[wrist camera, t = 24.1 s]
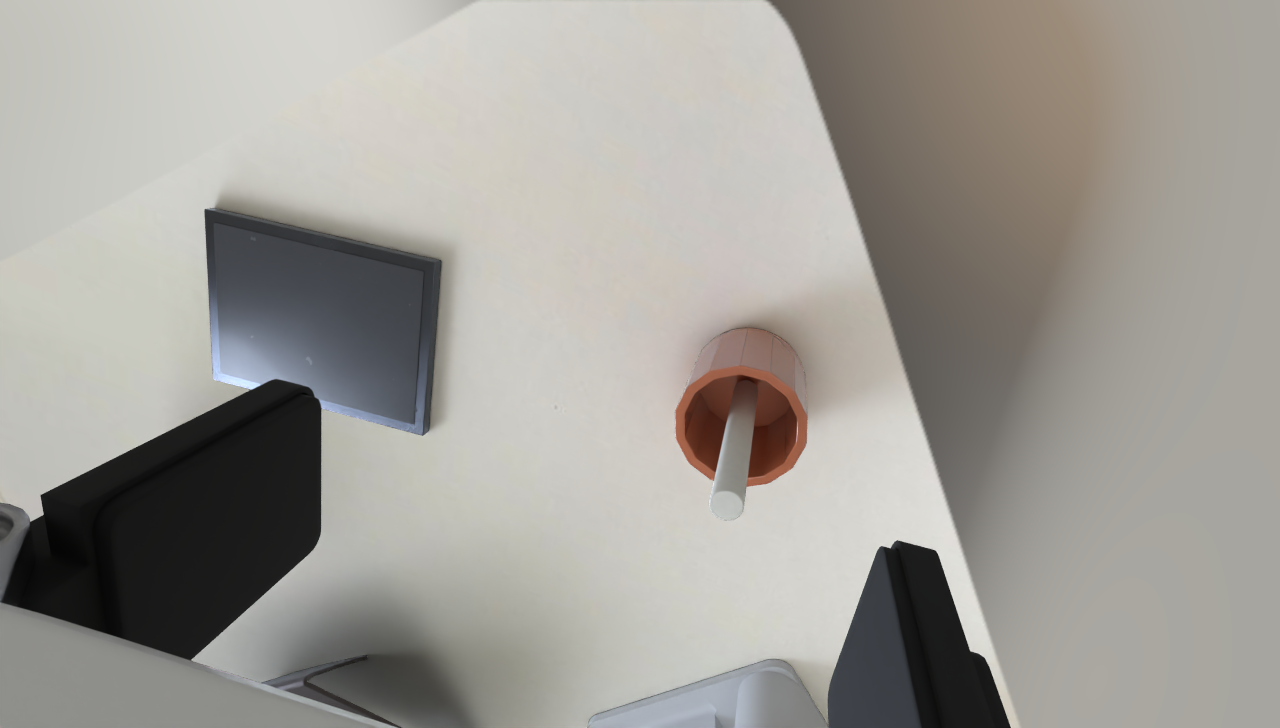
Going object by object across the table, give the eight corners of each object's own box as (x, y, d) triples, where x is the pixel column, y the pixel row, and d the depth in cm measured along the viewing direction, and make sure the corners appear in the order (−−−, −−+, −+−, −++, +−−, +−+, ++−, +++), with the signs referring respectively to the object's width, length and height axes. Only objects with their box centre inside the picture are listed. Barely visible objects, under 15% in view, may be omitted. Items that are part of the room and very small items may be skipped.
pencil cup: (704, 315, 41) (687, 352, 34) (818, 342, 40) (824, 384, 33) (682, 416, 43) (662, 468, 37) (789, 443, 42) (789, 501, 36)
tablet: (213, 207, 45) (203, 209, 44) (441, 260, 43) (435, 262, 42) (221, 375, 49) (211, 379, 48) (428, 431, 47) (422, 436, 46)
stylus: (737, 371, 41) (713, 486, 28) (761, 377, 41) (747, 495, 28) (732, 392, 41) (705, 515, 28) (755, 398, 41) (739, 525, 28)
